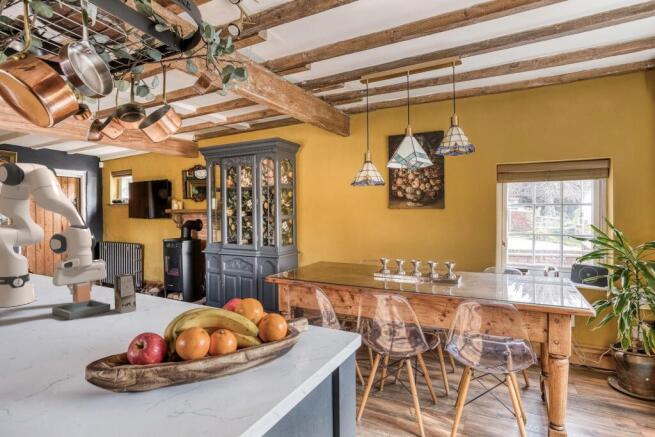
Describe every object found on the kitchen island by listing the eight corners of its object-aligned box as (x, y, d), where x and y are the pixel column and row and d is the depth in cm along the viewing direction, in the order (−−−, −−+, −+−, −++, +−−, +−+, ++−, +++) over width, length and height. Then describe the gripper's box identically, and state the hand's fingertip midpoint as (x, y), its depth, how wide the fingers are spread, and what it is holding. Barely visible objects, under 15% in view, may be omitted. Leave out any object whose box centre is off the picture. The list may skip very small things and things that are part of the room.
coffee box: (136, 310, 161) (135, 274, 161) (121, 313, 156) (120, 277, 156) (129, 306, 167) (128, 272, 167) (114, 309, 163) (113, 274, 162)
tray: (52, 314, 157) (52, 307, 157) (92, 305, 170) (92, 299, 170) (69, 320, 148) (69, 313, 148) (110, 310, 161) (110, 304, 161)
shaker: (72, 301, 158) (72, 283, 158) (85, 298, 162) (84, 281, 162) (78, 302, 155) (77, 284, 155) (90, 300, 159) (90, 282, 159)
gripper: (101, 258, 169) (102, 287, 169) (50, 264, 152) (51, 296, 152) (108, 259, 165) (109, 288, 166) (56, 265, 148) (57, 298, 148)
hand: (81, 292), depth 159 cm, fingers closed on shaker, 5 cm apart
